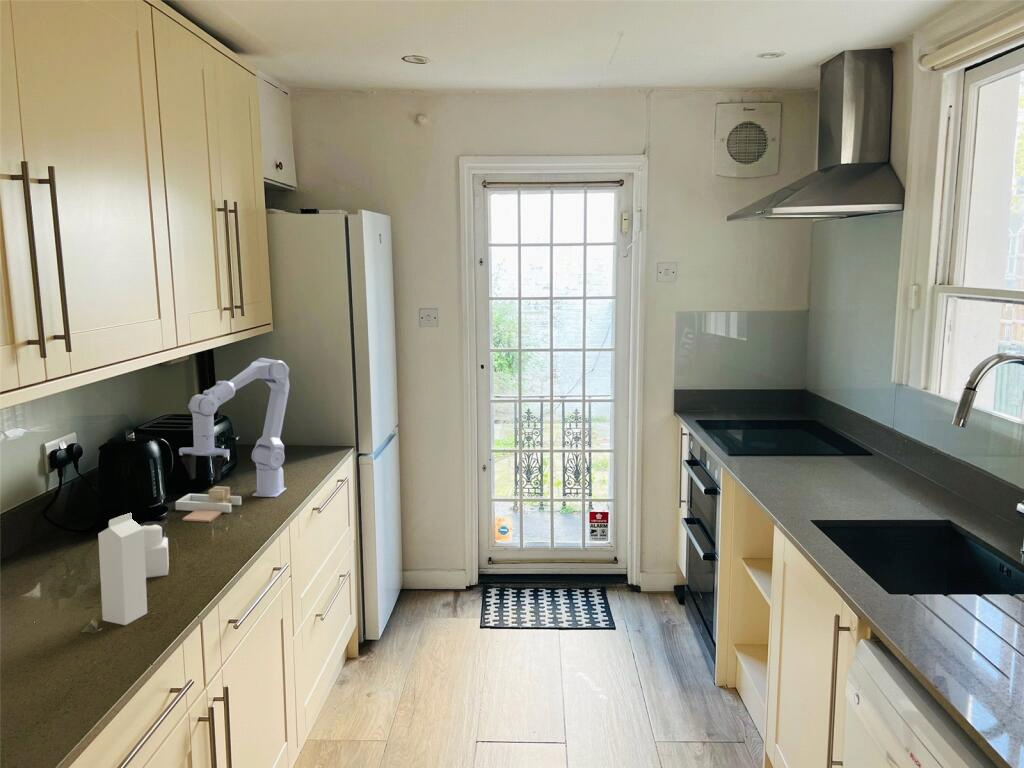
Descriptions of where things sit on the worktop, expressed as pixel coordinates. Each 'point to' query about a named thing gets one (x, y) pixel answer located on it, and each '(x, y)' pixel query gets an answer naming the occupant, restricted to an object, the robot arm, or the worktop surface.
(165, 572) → the medicine bottle
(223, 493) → the beech block
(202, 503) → the channel
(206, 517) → the coaster
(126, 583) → the milk
